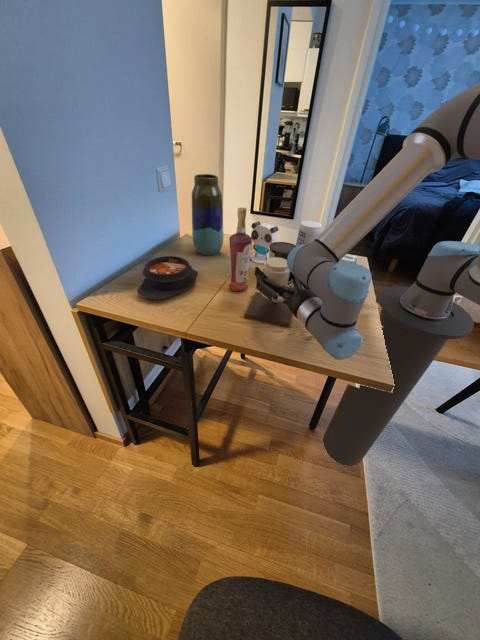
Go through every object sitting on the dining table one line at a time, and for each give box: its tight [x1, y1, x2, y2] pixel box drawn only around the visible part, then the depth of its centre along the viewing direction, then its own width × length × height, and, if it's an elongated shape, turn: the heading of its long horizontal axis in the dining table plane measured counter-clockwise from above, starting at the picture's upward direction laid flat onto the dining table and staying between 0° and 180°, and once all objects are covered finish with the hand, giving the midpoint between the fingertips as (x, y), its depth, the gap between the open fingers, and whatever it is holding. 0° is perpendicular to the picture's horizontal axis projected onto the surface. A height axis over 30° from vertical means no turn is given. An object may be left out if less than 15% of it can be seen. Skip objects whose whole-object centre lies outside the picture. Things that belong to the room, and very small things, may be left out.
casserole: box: [136, 255, 199, 300], centre depth 92 cm, size 25×19×8 cm
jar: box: [260, 257, 290, 299], centre depth 78 cm, size 8×8×10 cm
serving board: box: [244, 291, 293, 328], centre depth 85 cm, size 14×14×2 cm
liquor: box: [228, 207, 253, 293], centre depth 87 cm, size 7×7×28 cm
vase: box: [191, 173, 225, 256], centre depth 111 cm, size 14×14×31 cm
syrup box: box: [338, 253, 358, 264], centre depth 91 cm, size 6×6×14 cm
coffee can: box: [268, 241, 297, 288], centre depth 97 cm, size 10×10×14 cm
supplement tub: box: [295, 220, 323, 246], centre depth 118 cm, size 10×10×15 cm
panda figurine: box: [250, 221, 279, 265], centre depth 113 cm, size 12×11×15 cm
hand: (268, 269), depth 81 cm, fingers closed on jar, 8 cm apart
